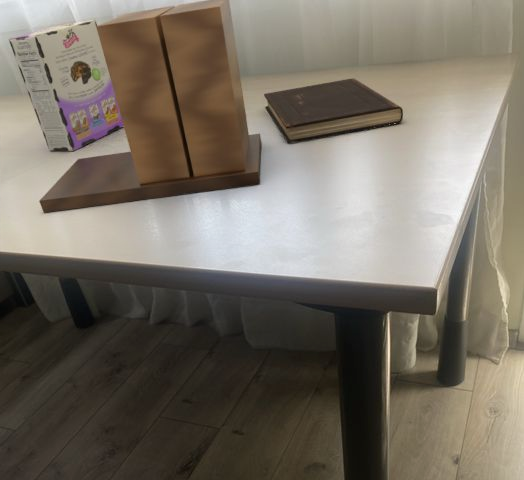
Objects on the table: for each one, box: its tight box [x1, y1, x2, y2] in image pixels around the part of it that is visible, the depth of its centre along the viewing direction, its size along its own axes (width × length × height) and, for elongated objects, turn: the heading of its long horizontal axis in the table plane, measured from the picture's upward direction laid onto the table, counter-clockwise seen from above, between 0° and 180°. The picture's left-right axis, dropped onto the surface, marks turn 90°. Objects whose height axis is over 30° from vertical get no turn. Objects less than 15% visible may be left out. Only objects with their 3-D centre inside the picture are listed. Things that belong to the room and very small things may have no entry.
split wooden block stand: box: [38, 0, 262, 213], centre depth 63 cm, size 26×16×18 cm, turn 89°
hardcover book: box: [263, 77, 404, 144], centre depth 81 cm, size 16×23×2 cm
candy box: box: [8, 19, 124, 152], centre depth 86 cm, size 14×6×16 cm, turn 154°
